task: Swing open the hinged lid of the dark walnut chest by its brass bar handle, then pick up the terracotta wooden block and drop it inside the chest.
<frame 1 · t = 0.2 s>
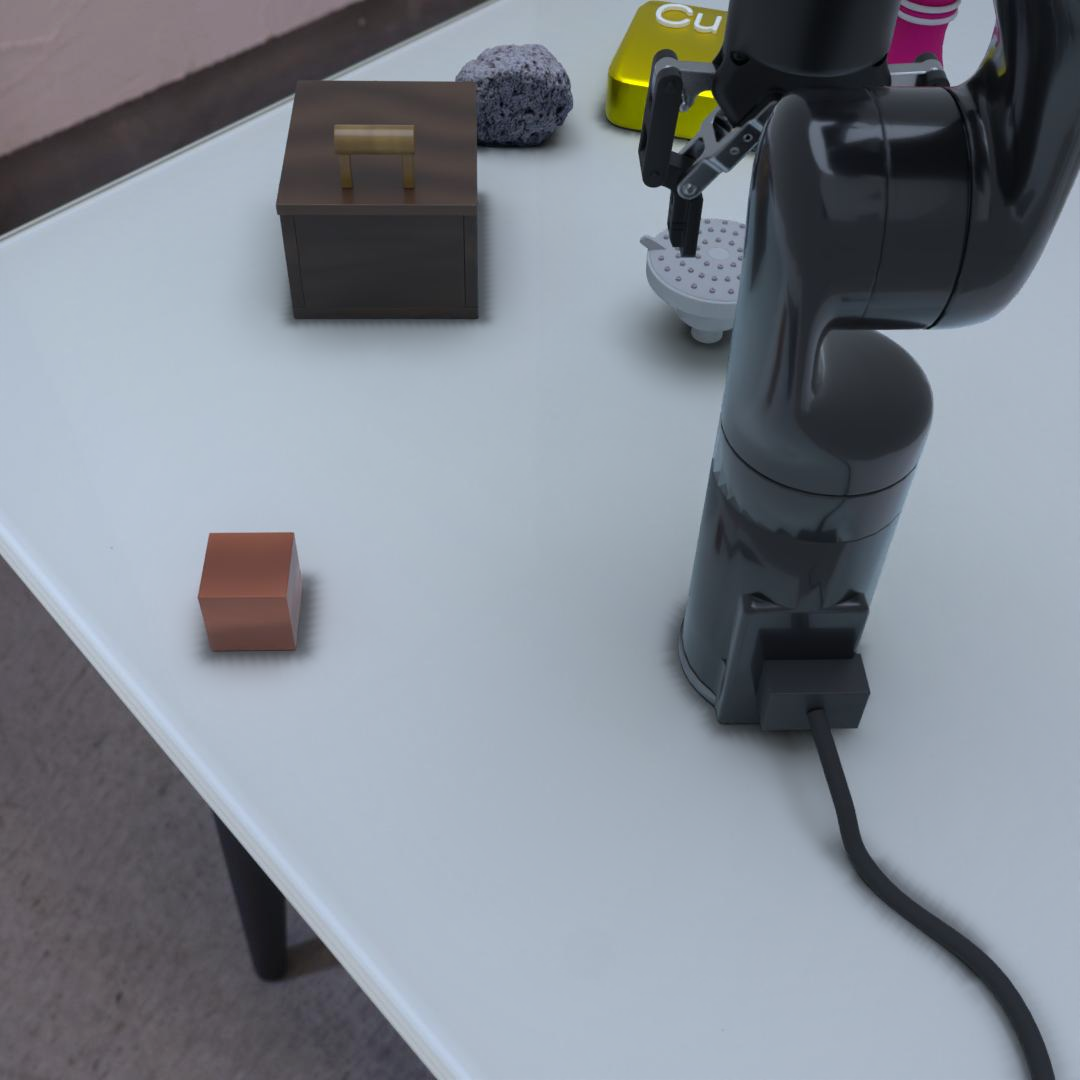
hand: (767, 249, 69), 17 cm above the table, tool pointing down, fingers open, 8 cm apart
showerhead: (702, 335, 91), on the table
pumice stone: (520, 128, 109), on the table
block: (258, 617, 73), on the table
chest: (390, 255, 96), on the table
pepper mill: (886, 156, 108), on the table
lid: (380, 116, 87), point 11 cm above the table, hinge at 0.0°
element tile: (704, 98, 113), on the table
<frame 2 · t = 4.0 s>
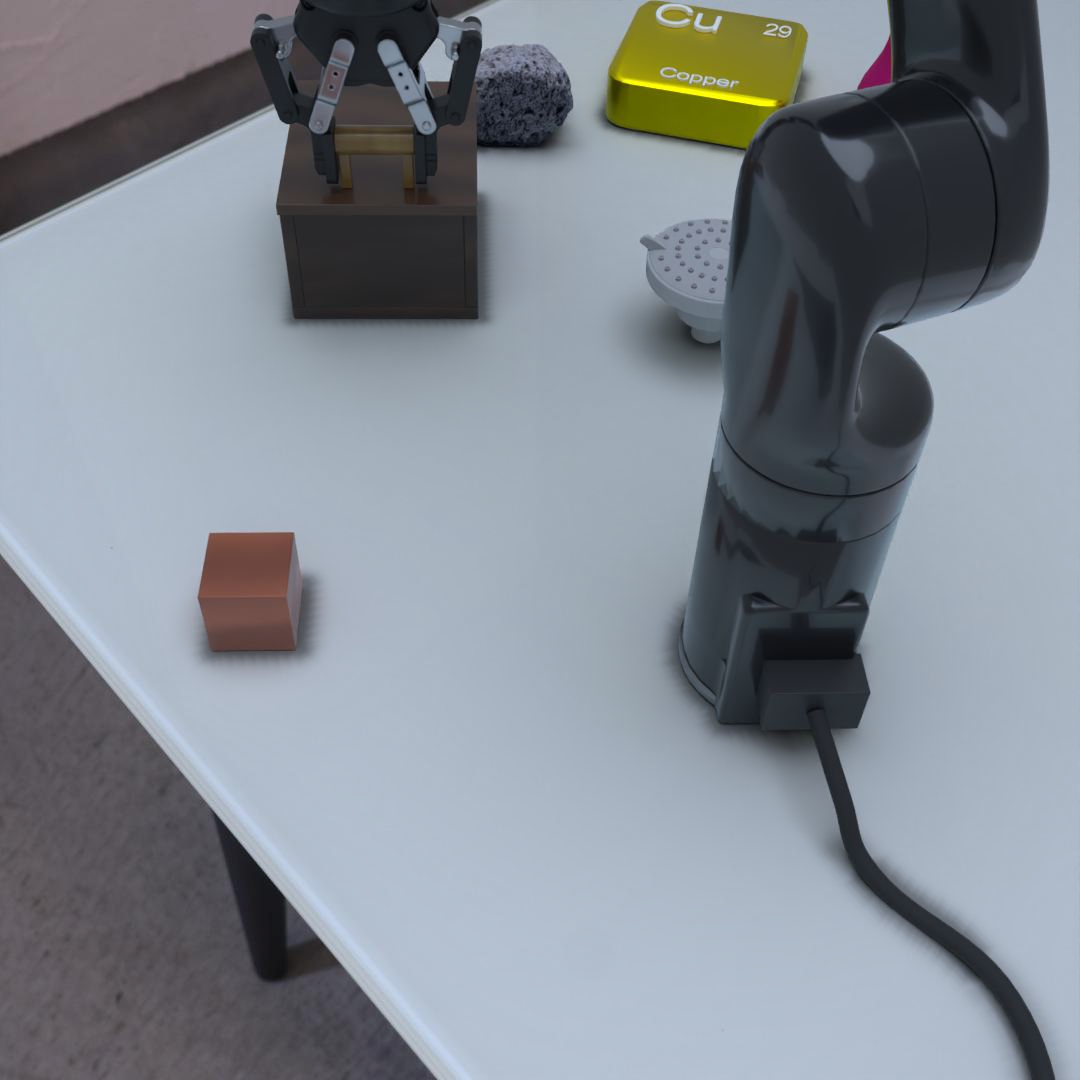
hand: (378, 176, 85), 10 cm above the table, tool pointing down, fingers closed on lid, 5 cm apart
lid: (380, 116, 87), point 11 cm above the table, hinge at 0.0°, touching gripper
everything else where it was.
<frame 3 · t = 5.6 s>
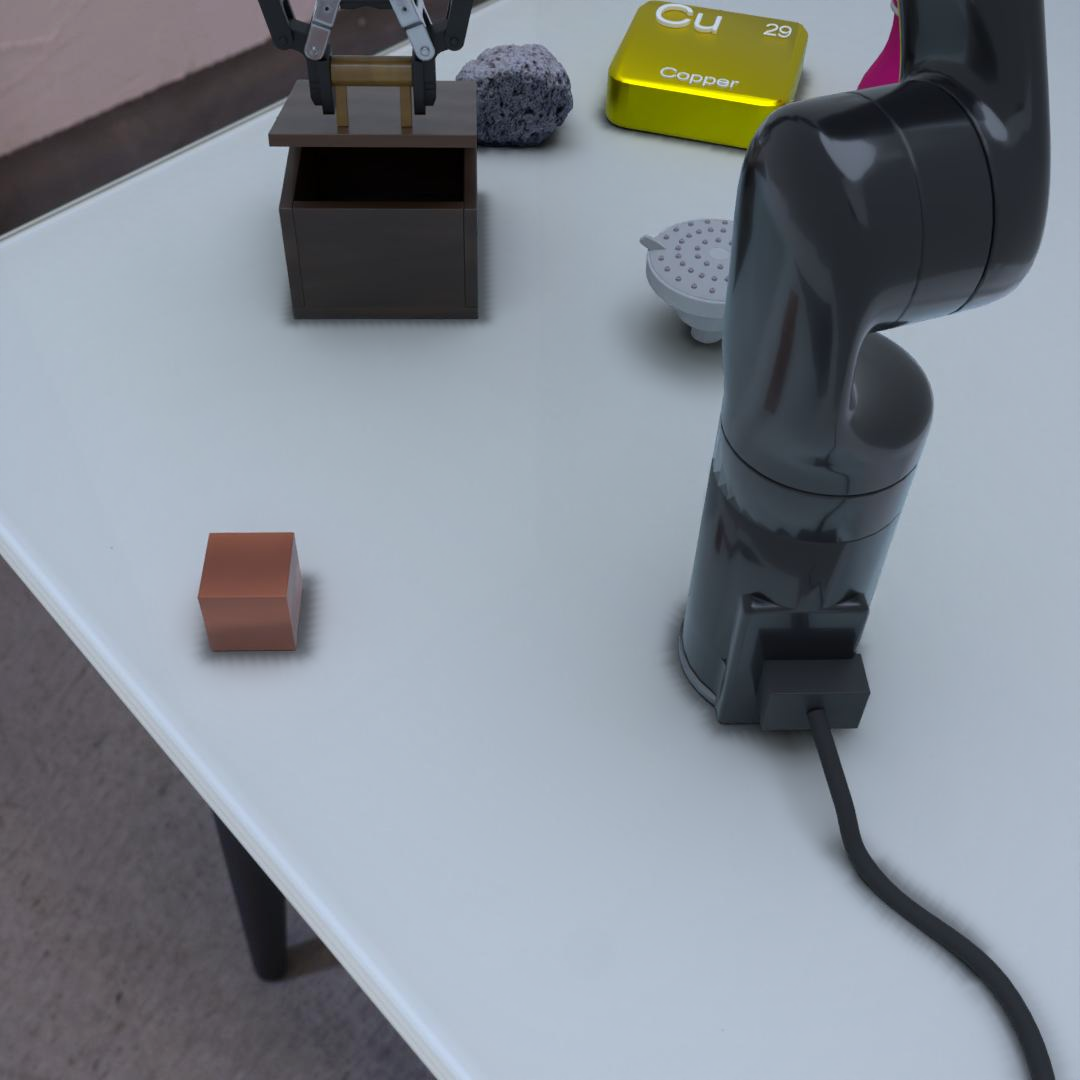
hand: (375, 107, 83), 14 cm above the table, tool pointing down, fingers closed on lid, 5 cm apart
lid: (379, 78, 86), point 14 cm above the table, hinge at 16.9°, touching gripper
everything else where it was.
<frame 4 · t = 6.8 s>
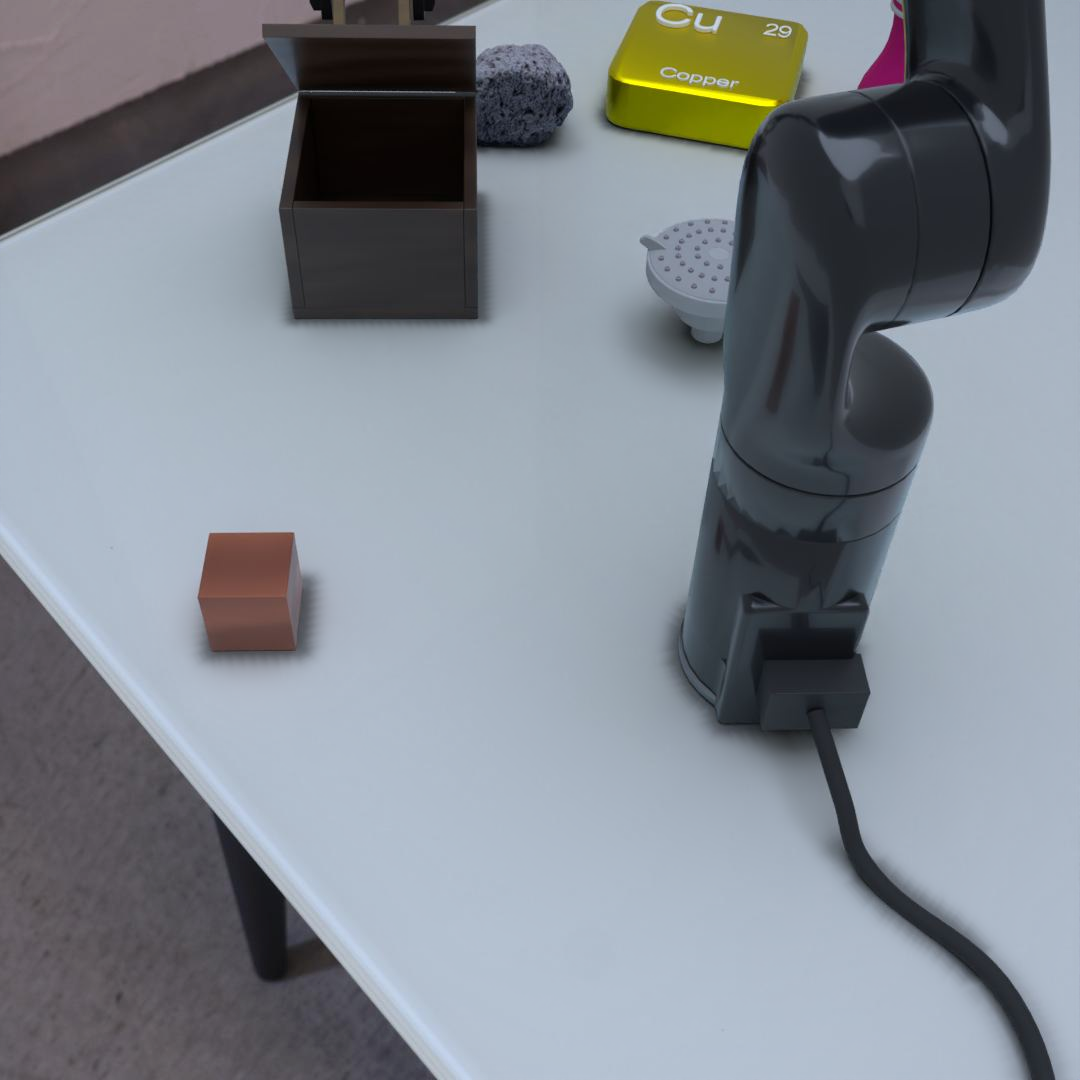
hand: (374, 14, 83), 18 cm above the table, tool pointing down, fingers closed on lid, 5 cm apart
lid: (378, 27, 86), point 16 cm above the table, hinge at 40.3°, touching gripper
everything else where it was.
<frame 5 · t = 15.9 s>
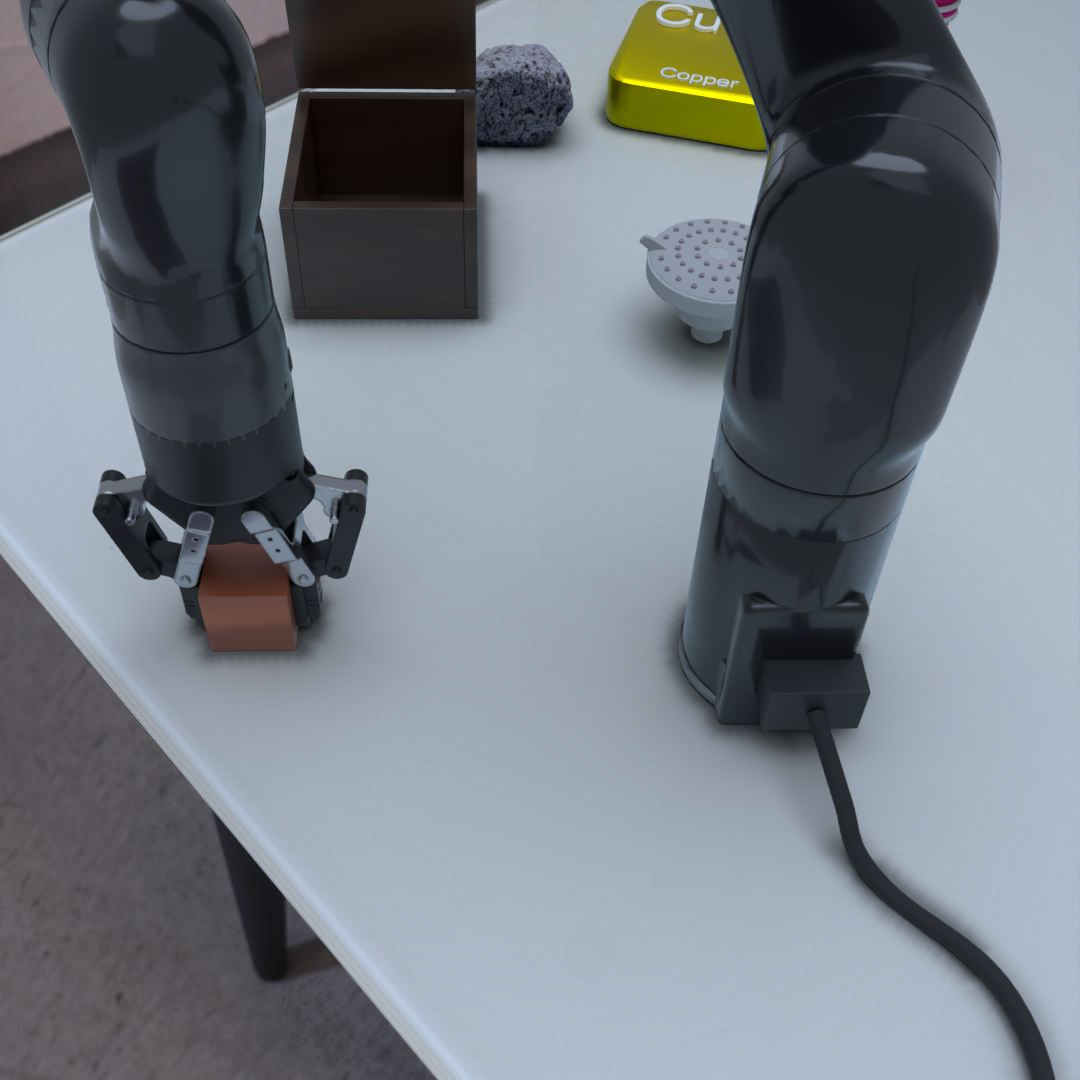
hand: (257, 613, 73), 0 cm above the table, tool pointing down, fingers closed on block, 4 cm apart
block: (258, 617, 73), on the table, touching gripper
when the fingers open (8 cm above the table, at t = 22.8 s): block drops 7 cm, resting on chest.
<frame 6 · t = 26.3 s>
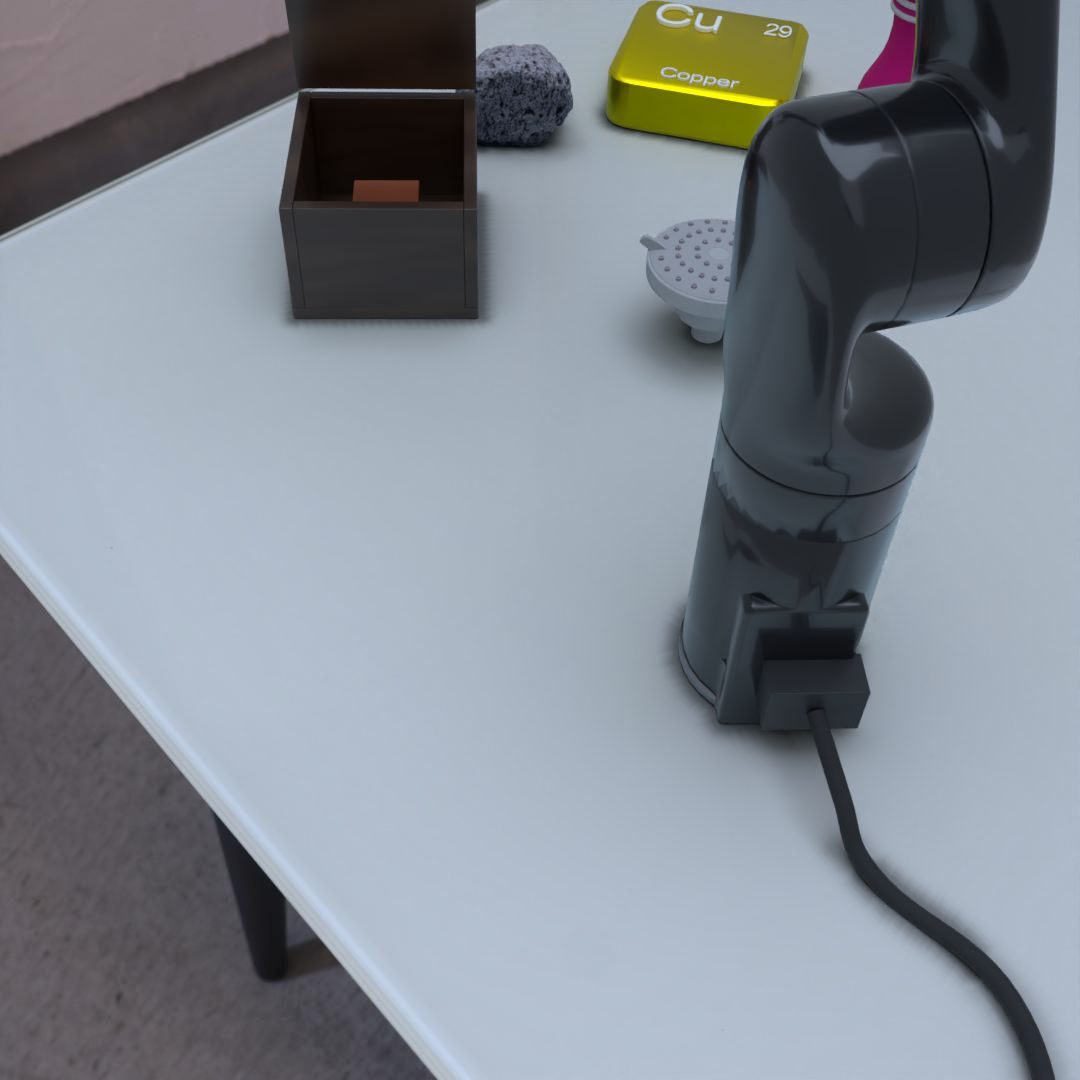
block: (389, 253, 95), point 1 cm above the table, touching chest
at the end: lid at +81° (first picture: +0°); block inside the target area in the chest (1.0 cm from its centre), point 0.9 cm above the chest's base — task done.
